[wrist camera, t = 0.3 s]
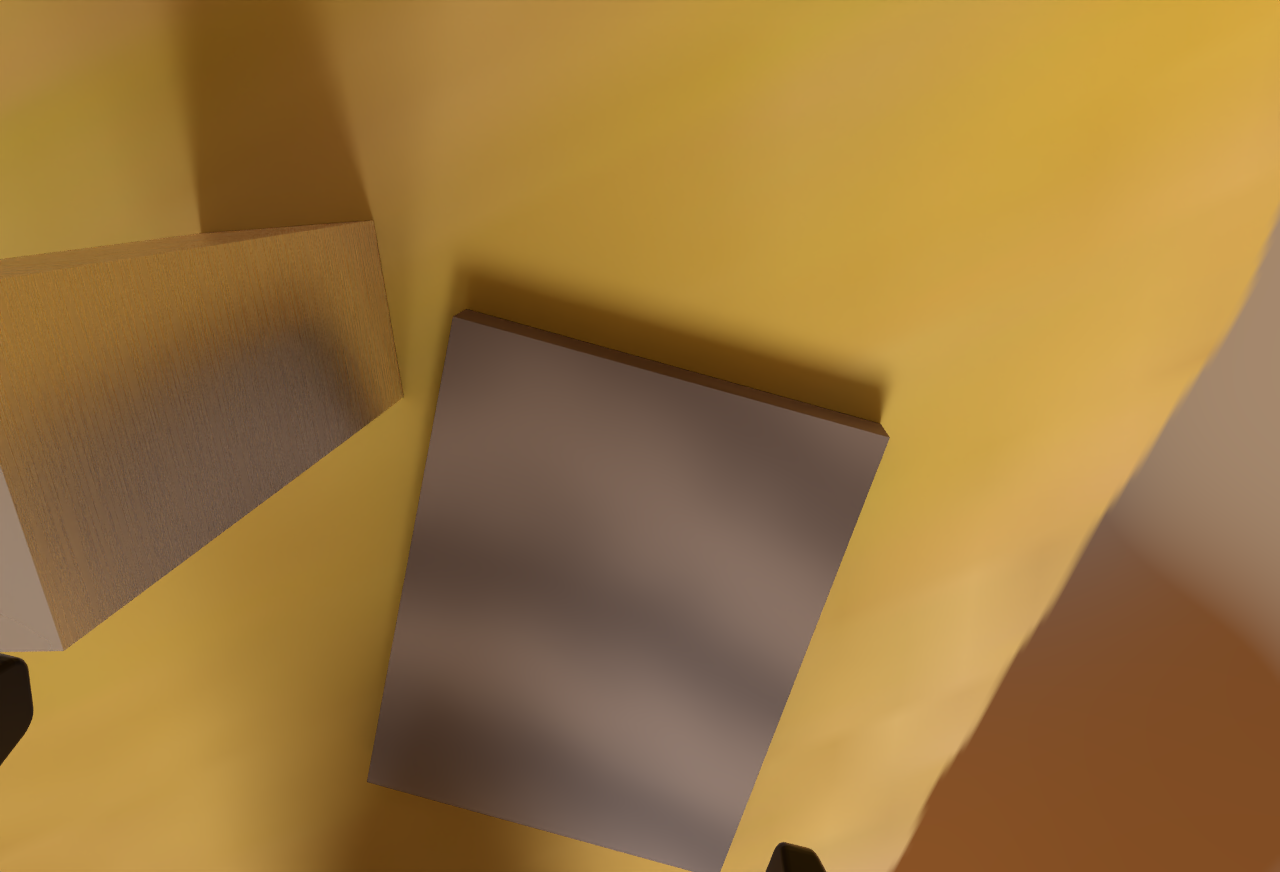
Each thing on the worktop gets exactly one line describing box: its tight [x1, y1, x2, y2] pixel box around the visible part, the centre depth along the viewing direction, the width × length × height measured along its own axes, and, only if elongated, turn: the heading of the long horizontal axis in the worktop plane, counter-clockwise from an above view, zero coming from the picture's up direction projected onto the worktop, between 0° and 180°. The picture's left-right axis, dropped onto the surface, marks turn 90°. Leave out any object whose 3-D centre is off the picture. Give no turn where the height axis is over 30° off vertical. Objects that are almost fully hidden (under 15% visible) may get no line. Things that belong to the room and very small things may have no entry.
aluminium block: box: [0, 220, 403, 652], centre depth 17 cm, size 5×5×13 cm
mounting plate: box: [367, 309, 890, 872], centre depth 24 cm, size 16×12×1 cm
